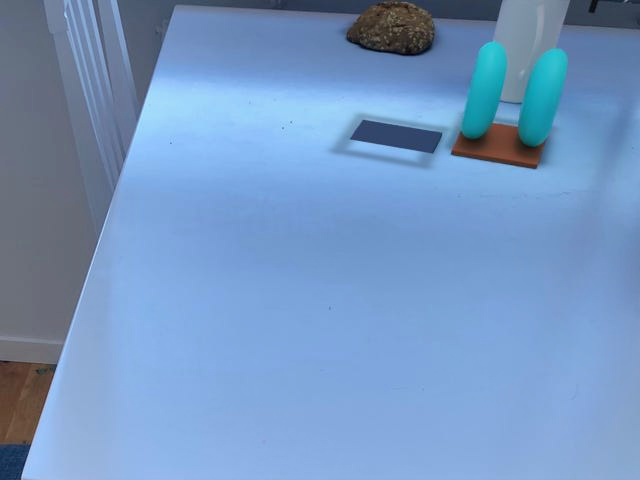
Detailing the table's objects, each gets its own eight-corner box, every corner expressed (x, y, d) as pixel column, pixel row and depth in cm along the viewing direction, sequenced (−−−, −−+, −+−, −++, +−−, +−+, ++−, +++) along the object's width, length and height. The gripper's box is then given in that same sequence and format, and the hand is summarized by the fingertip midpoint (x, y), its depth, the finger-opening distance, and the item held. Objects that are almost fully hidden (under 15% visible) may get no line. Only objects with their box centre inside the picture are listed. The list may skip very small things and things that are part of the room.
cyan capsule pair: (461, 120, 118) (483, 28, 110) (543, 130, 116) (571, 38, 109) (455, 150, 111) (478, 55, 104) (542, 161, 110) (572, 65, 102)
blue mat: (441, 136, 115) (442, 132, 115) (422, 173, 108) (423, 169, 108) (362, 123, 118) (362, 119, 117) (338, 158, 110) (338, 154, 110)
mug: (546, 115, 121) (579, 6, 112) (479, 108, 122) (506, 0, 113) (541, 84, 129) (572, -20, 120) (478, 78, 130) (503, -26, 121)
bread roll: (438, 33, 143) (446, -6, 139) (427, 58, 135) (436, 18, 131) (354, 23, 145) (360, -15, 141) (339, 47, 137) (345, 7, 133)
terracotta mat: (547, 135, 116) (548, 131, 116) (536, 168, 110) (537, 164, 109) (466, 122, 119) (467, 118, 118) (450, 154, 112) (451, 149, 112)
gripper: (722, -222, 101) (641, 7, 117) (488, -241, 107) (442, -19, 123) (722, -213, 96) (638, 25, 112) (478, -233, 102) (431, -4, 118)
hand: (535, 2), depth 118 cm, fingers open, 13 cm apart
